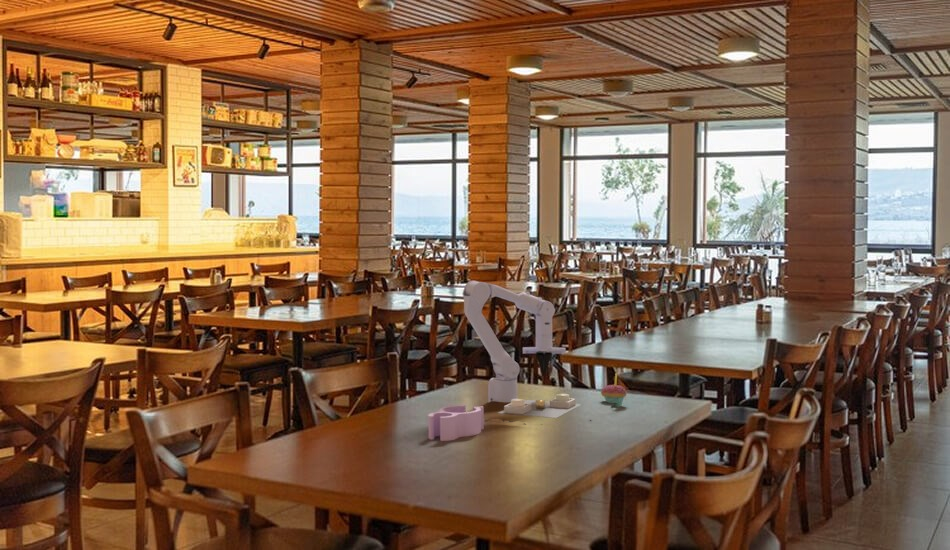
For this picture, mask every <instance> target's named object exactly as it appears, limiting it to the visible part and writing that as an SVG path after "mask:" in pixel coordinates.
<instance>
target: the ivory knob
mask: <svg viewBox="0 0 950 550" xmlns="http://www.w3.org/2000/svg"><path fill="white" fill-rule="evenodd" d="M525 400H526V399H524V398H517V399H512V400H511V402H510V403H511V406H514V407H524V406H525Z"/></svg>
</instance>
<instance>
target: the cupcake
mask: <svg viewBox="0 0 950 550" xmlns="http://www.w3.org/2000/svg"><path fill="white" fill-rule="evenodd" d="M614 375H615V376H614V384H608V385H606V386H603V388H602V389H601V391H600V394H601V396H602V397H603V398H604V400H605V402H606V403H609V404H613V405H612V406H610V407H611V408H619V407H622V404H623V401H624V399H625V398H626V397H627V389H626V388H625V387H623V386H622V385H619V384H617V381H618V370H617V371H616V372H615V374H614Z"/></svg>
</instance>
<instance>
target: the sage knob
mask: <svg viewBox="0 0 950 550" xmlns="http://www.w3.org/2000/svg"><path fill="white" fill-rule="evenodd" d="M555 398H556V401H564V402H568V401H569V398H570V394H567V393H558V394H557V393H556V394H555Z"/></svg>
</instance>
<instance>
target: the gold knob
mask: <svg viewBox="0 0 950 550" xmlns="http://www.w3.org/2000/svg"><path fill="white" fill-rule="evenodd" d="M535 401H536V409H545V401H546V400H543V399H537V400H535Z"/></svg>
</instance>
